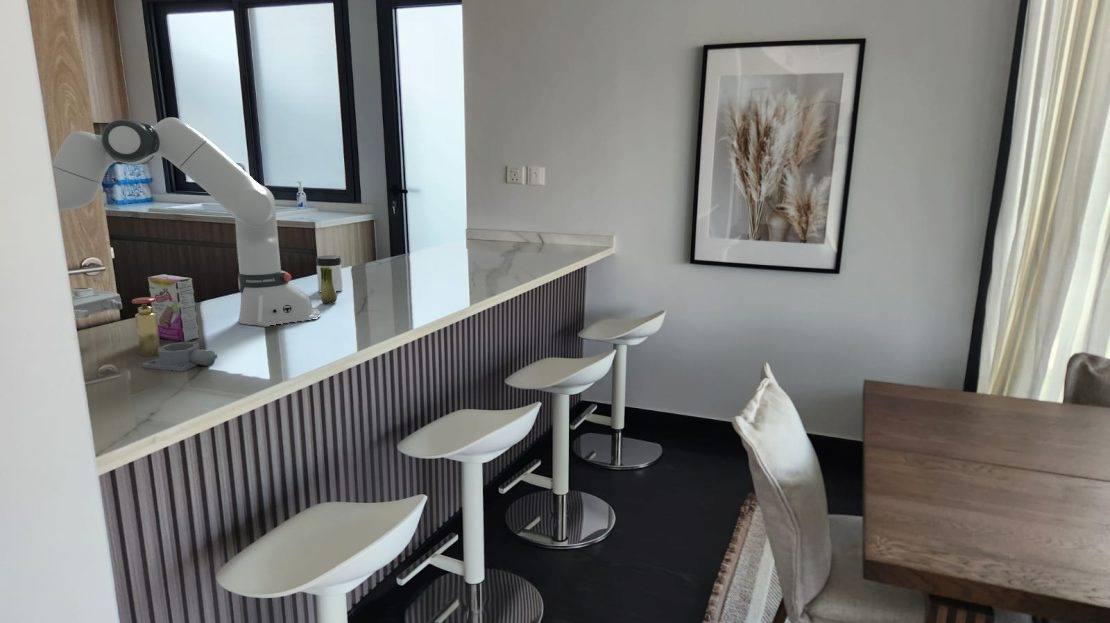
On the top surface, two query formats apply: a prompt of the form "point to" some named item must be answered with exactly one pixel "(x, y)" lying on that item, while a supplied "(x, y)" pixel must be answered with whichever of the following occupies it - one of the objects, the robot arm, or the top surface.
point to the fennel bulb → (327, 286)
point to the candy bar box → (174, 307)
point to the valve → (147, 327)
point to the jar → (335, 265)
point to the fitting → (181, 357)
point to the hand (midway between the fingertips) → (103, 310)
